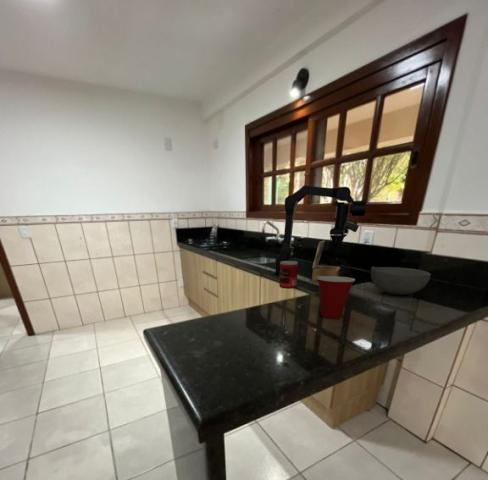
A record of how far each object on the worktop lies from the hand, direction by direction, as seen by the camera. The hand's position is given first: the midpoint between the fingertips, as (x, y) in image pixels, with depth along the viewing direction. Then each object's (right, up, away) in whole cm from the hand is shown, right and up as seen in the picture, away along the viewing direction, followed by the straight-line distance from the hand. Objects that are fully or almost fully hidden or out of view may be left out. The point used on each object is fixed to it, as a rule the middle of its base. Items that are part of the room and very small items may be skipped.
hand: (337, 249), depth 134 cm
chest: (-6, -15, 0) cm, 16 cm away
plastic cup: (-21, -36, -53) cm, 67 cm away
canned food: (-28, -22, -16) cm, 39 cm away
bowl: (+13, -26, -28) cm, 41 cm away
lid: (-10, -3, -2) cm, 11 cm away
